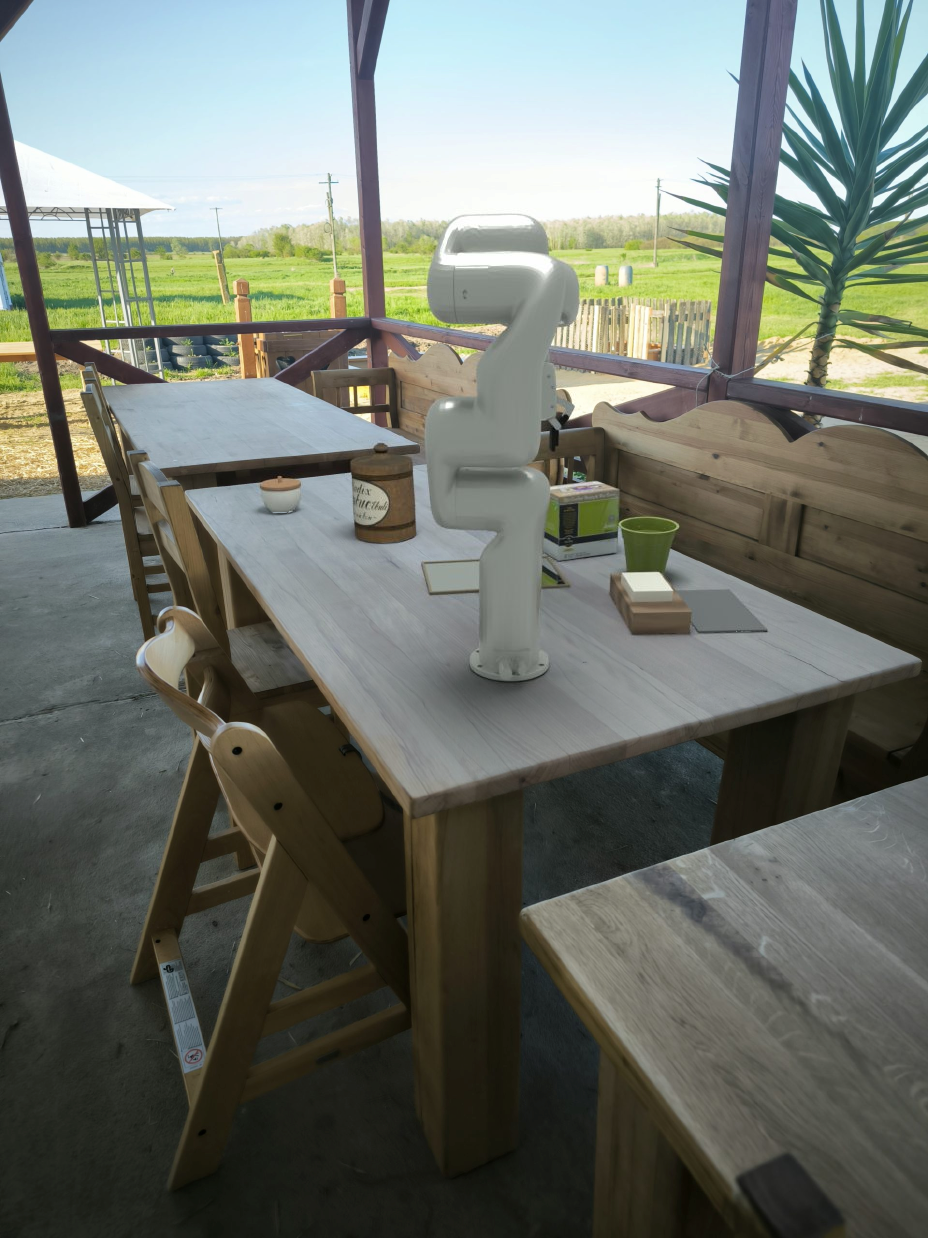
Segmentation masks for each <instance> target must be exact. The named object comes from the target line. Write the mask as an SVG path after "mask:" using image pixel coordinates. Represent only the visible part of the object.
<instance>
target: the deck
mask: <svg viewBox="0 0 928 1238" xmlns="http://www.w3.org/2000/svg"><path fill="white" fill-rule="evenodd" d="M660 574H661V575H662V576H663V578H664V579H665V580H666V582H667V583H668V584H669V586H670V587H671V588H672V590H673V600H672V601H666V602H632V600H631V598H630V597H629V595H628V593H627V592H626V590H625V589H624V587H623V585H622V584H621V576H622V573H610V577H609V592H608V595H609V596H610V598H611V599H612V601H613V603H614V605H615V606H616V609H617V610H618V612H619V614H620V615H621V618H622V620H623V621H624V623H625V625H626V626H627V628H628V629H629V632H630V633H631V635H667V633H668V634H669V633H670V634H671V633H680V634H690V632H691V625H692V624H691V615H692V611H691V610H690V609H689V607H688V606H687V605H686V603H685V602H684V601H683V600H682V598H681V597H680V596H679V594H678V593H677V592H676V591H675V590H676V589H675V588H674V586H672V583H670V581H669V580H668V579H667V578H666V576H665V574H664V575H663V574H662V573H660ZM660 633H661V634H660ZM662 633H663V634H662ZM670 634H669V635H670ZM671 635H672V634H671Z"/></svg>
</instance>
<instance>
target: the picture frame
mask: <svg viewBox="0 0 928 1238" xmlns="http://www.w3.org/2000/svg"><path fill="white" fill-rule="evenodd" d="M479 561H480V558H469V559H468V558H466V559H449V560H447V559H445V560H430V561H429V560H427V561H421V563H420V565H421V568H422V571H423V572H422V573H423V574H424V578H425V582H426V586H427V590H428V594H429V596H441V595H443V596H444V595H458V594H461V595H463V594H477V593H478V594H479ZM563 588H564V589H565V588H567V589H569V588H571V584H570V583H569V581H568V580H567V579H566V578H565V576H564V574H562V572H561V571H560V570H559V569H558V566H557V565H556V564H555V562H554V561H553V560H552V559H551V556H549V555H548V554H546V555H543V556H542V581H541V590H547V589H548V590H549V589H552V590H553V589H563Z"/></svg>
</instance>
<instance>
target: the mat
mask: <svg viewBox="0 0 928 1238" xmlns="http://www.w3.org/2000/svg"><path fill="white" fill-rule="evenodd" d="M675 591H676V592H677V593H678V594H679V596H680V597H681V598H682V600H683V601H684V602H685V603H686V605H687V606H688V607H689V609H690V610H691V611H692V615H691V623H692V624H693V625H692V624H691V625H692V627H693V626H694V627H695V628H694V627H693V628H694V630H695V631H696V630H697V631H696V632H697V634H710V633H709V632H730V633H742V632H741V631H767V632H768V628H767V627H766V626H765V625H764V624H763V623H762V622H761V621H760V620H759V619H758V618H757V617H756V616H755V615H754V614H753V613H752V612H751V611H750V610H749V608H747V606H746V605H745V604H744V602H742V601H741V600H740V599H739V598H738V597H737V596H736V595H735V594H734V593H733V591H732V590H730V589H729V588H728V589H686V590H685V589H681V590H678V589H677V590H676V589H675ZM736 631H737V632H736ZM705 632H706V633H705ZM707 632H708V633H707Z"/></svg>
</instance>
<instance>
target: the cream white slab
mask: <svg viewBox="0 0 928 1238" xmlns="http://www.w3.org/2000/svg"><path fill="white" fill-rule="evenodd" d="M621 574H622V576H621V584H622V585H623V587H624V589H625V590H626V592H627V593H628V595H629V597H630V598H631V600H632V602H666V601H672V600H673V590H672V588H671V587H670V586H669V584H668V583H667V582H666V580H665V579H664V578H663V576H662V575H661V574H660V573H659V572H633V573H627V572H621Z"/></svg>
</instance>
